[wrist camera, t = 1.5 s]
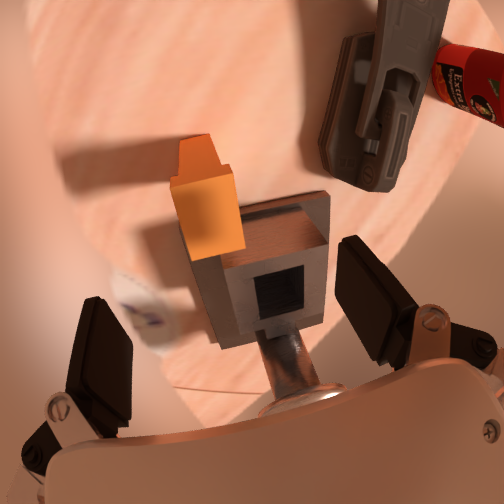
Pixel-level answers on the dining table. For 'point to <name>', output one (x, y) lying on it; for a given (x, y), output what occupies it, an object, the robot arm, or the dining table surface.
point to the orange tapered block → (206, 200)
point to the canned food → (471, 80)
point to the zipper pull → (380, 93)
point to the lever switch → (274, 292)
